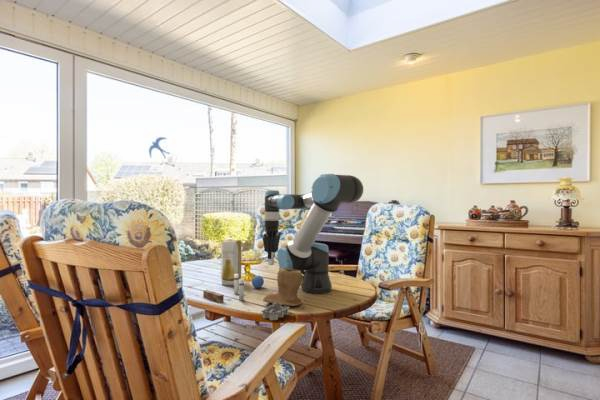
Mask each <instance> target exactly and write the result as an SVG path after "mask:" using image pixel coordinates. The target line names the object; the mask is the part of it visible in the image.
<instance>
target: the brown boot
mask: <svg viewBox="0 0 600 400" xmlns="http://www.w3.org/2000/svg"><path fill="white" fill-rule="evenodd" d="M276 279H277V289H278V290H277V293H269V294H266V295H265V296H264V297H263V300H262V301H263V302H264V303H269V304H273V303H274V302H277V301H278V303H281V304H282V306H286V307H296V306H300V304H301V303H302V302H303V301H302V299H301V298H299V297H298V293H299V289H300V287H301V286H300V285H301V284H302V279H303V274H302V273H301V272H300V271H299V270H294V269H286V268H280V269H278V271H277V277H276Z"/></svg>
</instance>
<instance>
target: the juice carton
mask: <svg viewBox="0 0 600 400" xmlns="http://www.w3.org/2000/svg"><path fill="white" fill-rule="evenodd" d="M220 253H221V255H220V256H221V258H220V260H221V261H220V262H221V264H220V265H221V267H220V275H221V276H220V280H221V285H224V286H234V275H235V274H239V280H240V279H242V241H241V239H234V238H232V237H229V238H227V239H224V240H221V252H220Z"/></svg>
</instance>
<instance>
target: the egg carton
mask: <svg viewBox="0 0 600 400" xmlns="http://www.w3.org/2000/svg"><path fill="white" fill-rule="evenodd" d="M290 308H291V306H286V305H282V304H281V303H278V301H277V302H274V303H271V305H269V306H268V307H265V308H264V309H263V310H260V312H261V313H262V318H263V319H269V320H270V321H277V320H279V318H284V316H285V315H286V316H288V315H289V314H290V312H289V309H290ZM278 310H280V311H278Z"/></svg>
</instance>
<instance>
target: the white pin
mask: <svg viewBox="0 0 600 400" xmlns="http://www.w3.org/2000/svg"><path fill="white" fill-rule="evenodd" d="M233 286H234V287H233V289H234V290H233V293H234V295H239V274H235V275H234V285H233Z"/></svg>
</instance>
